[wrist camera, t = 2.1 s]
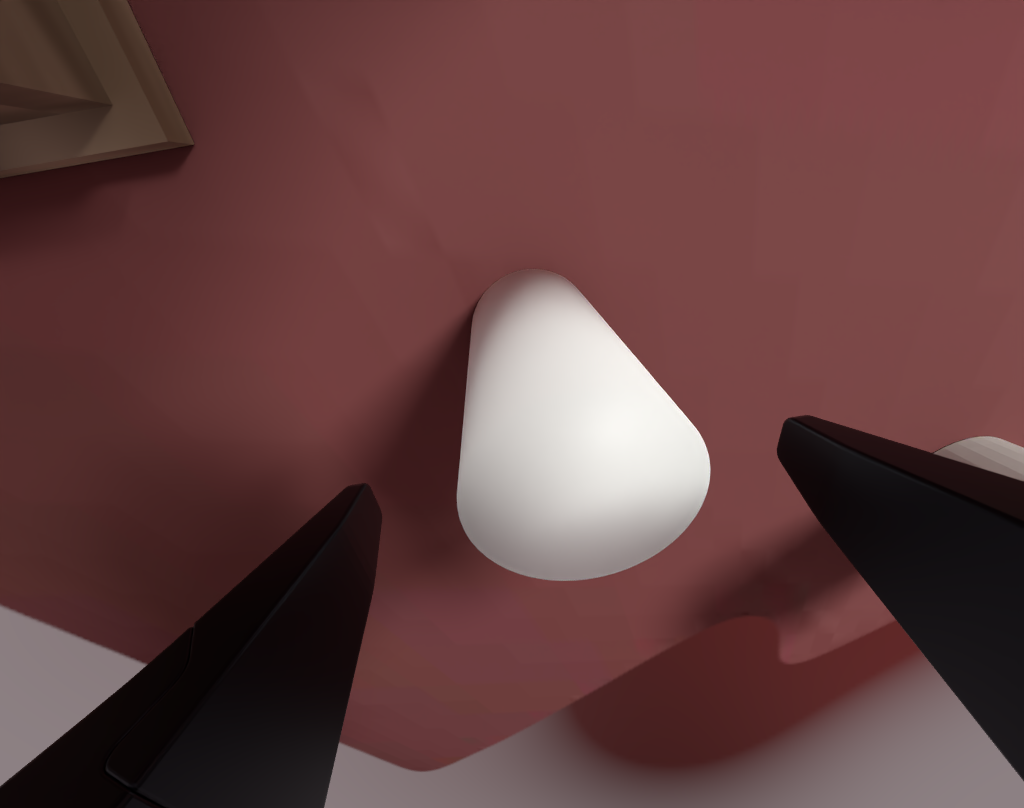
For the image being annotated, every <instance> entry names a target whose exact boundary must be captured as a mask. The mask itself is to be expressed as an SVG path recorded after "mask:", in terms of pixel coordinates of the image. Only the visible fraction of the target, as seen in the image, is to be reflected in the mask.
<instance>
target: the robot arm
mask: <svg viewBox="0 0 1024 808" xmlns="http://www.w3.org/2000/svg"><path fill="white" fill-rule="evenodd" d="M777 455H778V458H779V460H780V462H781V464H782V465H783V467H784V468H785V470H786V471H787V473H788V475H789V476H790V478H791V479H792V481H793V482H794V484H795V486H796V487H797V489H798V490H799V492H800V493H801V495H802V496H803V498H804V500H805V501H806V503H807V504H808V506H809V507H810V509H811V511H812V512H813V513H814V515H815V516H816V518H817V519H818V521H819V522H820V524H821V525H822V526H823V528H824V529H825V530H826V531H827V533H828V534H829V535H830V537H831V538H832V539H833V540H834V542H835V543H836V544H837V545H838V547H839V548H840V549H841V550H842V552H843V553H844V554H845V556H846V557H847V558H848V559H849V561H850V562H851V563H852V564H853V566H854V567H855V568H856V569H857V571H858V572H859V573H860V575H861V576H862V577H863V578H864V580H865V581H866V582H867V583H868V585H869V586H870V587H871V588H872V590H873V591H874V592H875V594H876V595H877V596H878V597H879V599H880V600H881V601H882V602H883V604H884V605H885V606H886V607H887V609H888V610H889V611H890V613H891V614H892V615H893V616H894V618H895V619H896V620H897V621H898V623H899V624H900V625H901V626H902V628H903V629H904V630H905V631H906V633H907V634H908V635H909V636H910V638H911V639H912V640H913V642H914V643H915V644H916V645H917V647H918V648H919V649H920V650H921V652H922V653H923V654H924V656H925V657H926V658H927V659H928V661H929V662H930V663H931V664H932V666H934V668H935V669H936V670H937V672H938V673H939V674H940V676H941V677H942V678H943V679H944V681H945V682H946V683H947V685H948V686H949V687H950V688H951V690H952V691H953V692H954V693H955V695H956V696H957V697H958V698H959V700H960V701H961V702H962V704H963V705H964V706H965V707H966V709H967V710H968V711H969V712H970V714H971V715H972V716H973V717H974V719H975V720H976V721H977V723H978V724H979V725H980V726H981V728H982V729H983V730H984V731H985V733H986V734H987V735H988V737H990V739H991V740H992V742H993V743H994V744H995V745H996V747H997V748H998V749H999V750H1000V752H1001V753H1002V754H1003V755H1004V757H1005V758H1006V759H1007V761H1008V762H1009V763H1010V764H1011V766H1012V767H1013V768H1014V769H1015V771H1016V772H1017V773H1018V775H1019V776H1020V777H1021V778H1022V779H1023V781H1024V481H1021V480H1018V479H1015V478H1012V477H1008V476H1005V475H1002V474H999V473H995V472H992V471H989V470H986V469H982V468H979V467H976V466H973V465H969V464H966V463H963V462H960V461H956V460H953V459H950V458H947V457H943V456H940V455H937V454H934V453H930V452H927V451H924V450H921V449H917V448H914V447H911V446H908V445H904V444H901V443H898V442H895V441H891V440H888V439H885V438H882V437H878V436H875V435H872V434H869V433H865V432H862V431H859V430H856V429H852V428H849V427H846V426H843V425H839V424H836V423H833V422H830V421H826V420H823V419H820V418H817V417H813V416H809V415H804V416H797V417H791V418H788V419H786V420H785V422H784V423H783V427H782V430H781V434H780V438H779V442H778V446H777ZM381 523H382V514H381V510H380V507H379V505H378V503H377V500H376V498H375V496H374V494H373V491H372V489H371V487H370V486H369V485H368V484H366V483H362V484H356V485H350V486H348V487H346V488H345V489H344V490H343V491H342V492H340V493H339V494H338V495H337V496H336V497H335V498H334V499H333V500H332V501H330V502H329V503H328V504H327V505H326V506H325V507H324V508H323V509H321V510H320V511H319V512H318V513H317V514H316V515H315V516H314V517H313V518H311V519H310V520H309V521H308V522H307V523H306V524H305V525H304V526H303V527H301V528H300V529H299V530H298V531H297V532H296V533H295V534H294V535H292V536H291V537H290V538H289V539H288V540H287V541H286V542H285V543H284V544H282V545H281V546H280V547H279V548H278V549H277V550H276V551H275V552H273V553H272V554H271V555H270V556H269V557H268V558H267V559H266V560H265V561H263V562H262V563H261V564H260V565H259V566H258V567H257V568H256V569H254V570H253V571H252V572H251V573H250V574H249V575H248V576H247V577H246V578H244V579H243V580H242V581H241V582H240V583H239V584H238V585H237V586H235V587H234V588H233V589H232V590H231V591H230V592H229V593H228V594H227V595H225V596H224V597H223V598H222V599H221V600H220V601H219V602H218V603H217V604H215V605H214V606H213V607H212V608H211V609H210V610H209V611H208V612H206V613H205V614H204V615H203V616H202V617H201V618H200V619H199V620H198V621H196V622H195V624H194V627H190V628H188V629H187V630H186V631H185V632H184V633H183V634H182V635H181V636H180V637H178V638H177V639H176V640H175V641H174V642H173V643H172V644H171V645H170V646H168V647H167V648H166V649H165V650H164V651H163V652H162V653H160V654H159V655H158V656H157V657H156V658H155V659H154V660H152V661H151V662H150V663H149V664H148V665H147V666H146V667H144V668H143V669H142V670H141V671H140V672H139V673H137V674H136V675H135V676H134V677H133V678H132V679H131V680H129V681H128V682H127V683H126V684H125V685H123V686H122V687H121V688H120V689H119V690H117V691H116V692H115V693H114V694H113V695H111V696H110V697H109V698H108V699H107V700H105V701H104V702H103V703H102V704H101V705H99V706H98V707H97V708H96V709H95V710H93V711H92V712H91V713H90V714H89V715H87V716H86V717H85V718H84V719H82V720H81V721H80V722H79V723H77V724H76V725H75V726H74V727H73V728H71V729H70V730H69V731H68V732H66V733H65V734H64V735H63V736H62V737H60V738H59V739H58V740H57V741H55V742H54V743H53V744H52V745H51V746H49V747H48V748H47V749H46V750H44V751H43V752H42V753H41V754H39V755H38V756H37V757H36V758H35V759H34V760H32V761H31V762H30V763H28V764H27V765H26V766H25V767H23V768H22V769H21V770H20V771H19V772H17V773H16V774H15V775H14V776H12V777H11V778H10V779H9V780H7V781H6V782H5V783H4V784H3V785H1V786H0V808H324V805H325V801H326V796H327V792H328V788H329V783H330V778H331V775H332V770H333V766H334V761H335V757H336V753H337V748H338V744H339V740H340V735H341V731H342V726H343V722H344V718H345V713H346V709H347V704H348V700H349V696H350V691H351V687H352V682H353V678H354V674H355V669H356V665H357V660H358V656H359V652H360V647H361V643H362V639H363V634H364V630H365V625H366V621H367V617H368V612H369V608H370V603H371V599H372V594H373V589H374V583H375V576H376V567H377V558H378V550H379V541H380V532H381Z"/></svg>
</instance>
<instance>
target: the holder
mask: <svg viewBox="0 0 1024 808" xmlns="http://www.w3.org/2000/svg"><path fill="white" fill-rule="evenodd" d="M189 145H194V142H193V140H192V138H191V136H190V134H189V132H188V130H187V128H186V125H185V123H184V121H183V119H182V117H181V115H180V113H179V110H178V108H177V106H176V104H175V102H174V100H173V98H172V96H171V93H170V91H169V89H168V87H167V85H166V83H165V81H164V78H163V76H162V74H161V72H160V70H159V68H158V66H157V63H156V61H155V59H154V57H153V55H152V53H151V51H150V49H149V46H148V44H147V42H146V40H145V38H144V36H143V34H142V31H141V29H140V27H139V25H138V23H137V21H136V19H135V17H134V14H133V12H132V10H131V8H130V6H129V4H128V2H127V0H0V178H5V177H10V176H16V175H22V174H28V173H34V172H39V171H45V170H51V169H57V168H62V167H68V166H74V165H80V164H85V163H91V162H97V161H103V160H108V159H114V158H120V157H126V156H132V155H137V154H143V153H149V152H155V151H160V150H166V149H172V148H178V147H183V146H189Z"/></svg>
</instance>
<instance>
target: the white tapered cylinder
mask: <svg viewBox="0 0 1024 808" xmlns="http://www.w3.org/2000/svg"><path fill="white" fill-rule="evenodd" d="M709 481H710V461H709V455H708V452H707V448H706V445H705V443H704V441H703V439H702V437H701V435H700V433H699V432H698V430H697V429H696V428H695V427H694V425H693V424H692V423H691V422H690V420H689V419H688V418H687V417H686V416H685V415H684V413H683V412H682V411H681V410H680V409H679V408H678V406H677V405H676V404H675V403H674V402H673V400H672V399H671V398H670V397H669V396H668V395H667V393H666V392H665V391H664V390H663V389H662V388H661V386H660V385H659V384H658V383H657V382H656V380H655V379H654V378H653V377H652V376H651V375H650V373H649V372H648V371H647V370H646V369H645V368H644V366H643V365H642V364H641V363H640V362H639V360H638V359H637V358H636V357H635V356H634V355H633V353H632V352H631V351H630V350H629V349H628V348H627V346H626V345H625V344H624V343H623V342H622V340H621V339H620V338H619V337H618V336H617V335H616V333H615V332H614V331H613V330H612V329H611V328H610V326H609V325H608V324H607V323H606V322H605V320H604V319H603V318H602V317H601V316H600V315H599V313H598V312H597V311H596V310H595V309H594V308H593V306H592V305H591V304H590V303H589V302H588V300H587V299H586V298H585V297H584V296H583V295H582V293H581V292H580V291H579V290H578V289H577V288H576V286H575V285H573V284H572V283H571V282H570V281H569V280H567V279H566V278H564V277H563V276H561V275H559V274H557V273H554V272H551V271H548V270H542V269H524V270H520V271H515V272H513V273H510V274H507V275H506V276H504V277H502V278H500V279H499V280H497V281H496V282H495V283H493V284H492V285H491V286H490V287H489V288H488V289H487V290H486V291H485V293H484V294H483V295H482V297H481V298H480V300H479V302H478V304H477V306H476V308H475V311H474V315H473V319H472V328H471V339H470V350H469V362H468V373H467V384H466V396H465V407H464V419H463V430H462V441H461V453H460V464H459V475H458V487H457V509H458V514H459V519H460V521H461V524H462V526H463V529H464V531H465V533H466V534H467V536H468V538H469V539H470V541H471V542H472V543H473V544H474V545H475V547H476V548H477V549H478V550H479V551H480V552H482V553H483V554H484V555H485V556H486V557H487V558H489V559H490V560H492V561H493V562H495V563H496V564H498V565H500V566H502V567H504V568H506V569H508V570H510V571H513V572H516V573H518V574H521V575H525V576H529V577H533V578H539V579H545V580H558V581H571V580H584V579H591V578H597V577H602V576H606V575H610V574H613V573H617V572H620V571H622V570H625V569H628V568H631V567H633V566H635V565H637V564H639V563H641V562H644V561H645V560H647V559H649V558H651V557H652V556H654V555H656V554H657V553H659V552H660V551H662V550H663V549H664V548H666V547H667V546H668V545H670V544H671V543H672V542H673V541H674V540H675V539H677V538H678V537H679V536H680V535H681V534H682V533H683V532H684V530H685V529H686V528H687V527H688V526H689V525H690V523H691V522H692V521H693V519H694V518H695V517H696V515H697V513H698V511H699V510H700V508H701V506H702V504H703V501H704V499H705V496H706V494H707V490H708V486H709Z"/></svg>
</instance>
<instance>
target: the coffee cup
mask: <svg viewBox="0 0 1024 808" xmlns="http://www.w3.org/2000/svg"><path fill="white" fill-rule="evenodd" d="M934 454H937V455H940V456H943V457H947V458H950V459H953V460H956V461H960V462H963V463H966V464H969V465H973V466H976V467H979V468H982V469H986V470H989V471H992V472H995V473H999V474H1002V475H1005V476H1008V477H1012V478H1015V479H1018V480H1021V481H1024V448H1023V447H1020V446H1018V445H1015V444H1012V443H1010V442H1007V441H1005V440H1002V439H1000V438H996V437H990V436H985V437H974V438H969V439H965V440H962V441H959V442H955V443H953V444H951V445H948V446H946V447H944V448H942V449H940V450H938V451H936V452H935V453H934Z"/></svg>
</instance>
